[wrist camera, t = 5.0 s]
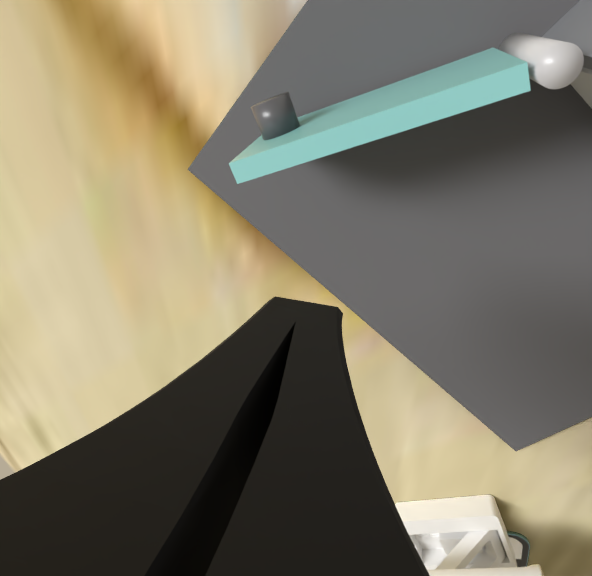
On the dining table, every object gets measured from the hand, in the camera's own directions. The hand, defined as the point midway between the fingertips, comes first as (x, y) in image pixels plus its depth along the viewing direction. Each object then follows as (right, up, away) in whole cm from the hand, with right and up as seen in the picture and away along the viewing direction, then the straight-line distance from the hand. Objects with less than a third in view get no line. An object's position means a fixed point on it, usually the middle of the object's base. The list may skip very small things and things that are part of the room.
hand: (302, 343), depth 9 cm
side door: (+3, +8, +6) cm, 10 cm away
